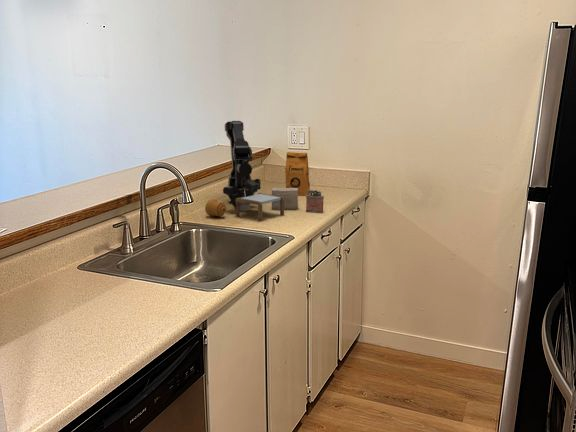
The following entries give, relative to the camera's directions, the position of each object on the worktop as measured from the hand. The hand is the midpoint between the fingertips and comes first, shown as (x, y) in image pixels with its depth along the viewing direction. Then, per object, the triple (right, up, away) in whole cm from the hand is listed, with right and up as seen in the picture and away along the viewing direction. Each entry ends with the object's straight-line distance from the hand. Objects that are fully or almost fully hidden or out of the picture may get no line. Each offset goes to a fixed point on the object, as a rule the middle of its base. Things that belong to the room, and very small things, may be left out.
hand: (242, 207), depth 257 cm
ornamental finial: (-9, -5, -15) cm, 18 cm away
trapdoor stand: (+9, -4, -12) cm, 16 cm away
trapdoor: (+9, +3, -14) cm, 16 cm away
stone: (0, -1, 0) cm, 1 cm away
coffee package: (+25, +6, +31) cm, 41 cm away
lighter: (+32, -3, -4) cm, 33 cm away
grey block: (+19, -1, +1) cm, 19 cm away
